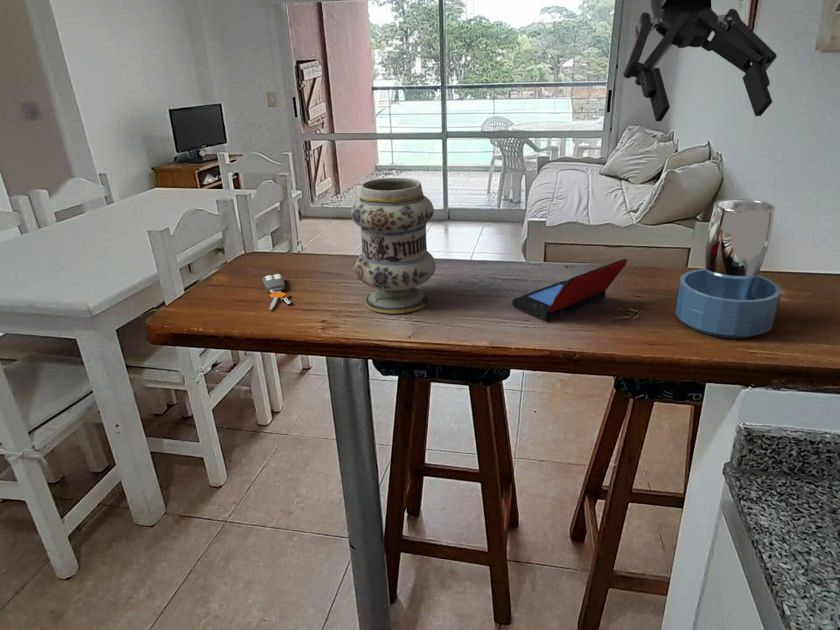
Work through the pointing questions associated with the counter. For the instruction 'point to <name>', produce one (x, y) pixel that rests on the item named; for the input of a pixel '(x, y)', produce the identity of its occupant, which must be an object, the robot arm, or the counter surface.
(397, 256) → the apothecary jar
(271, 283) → the key chain
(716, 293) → the beer glass
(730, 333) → the bowl
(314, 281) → the counter surface
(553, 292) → the handheld console
